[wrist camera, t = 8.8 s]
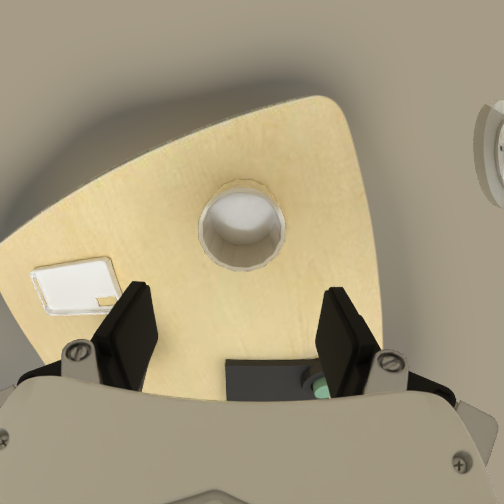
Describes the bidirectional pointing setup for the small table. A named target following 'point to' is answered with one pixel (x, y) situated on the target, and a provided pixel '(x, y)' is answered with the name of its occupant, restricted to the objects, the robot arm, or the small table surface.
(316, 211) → the small table surface
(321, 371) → the scale
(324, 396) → the button
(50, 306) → the phone case
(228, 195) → the beige cup
